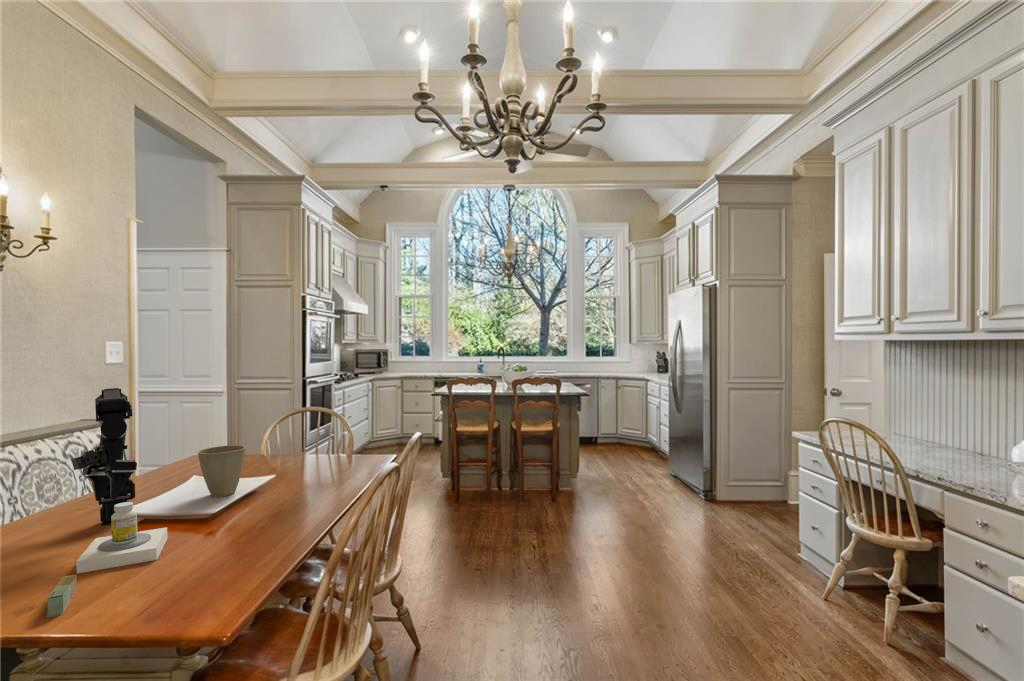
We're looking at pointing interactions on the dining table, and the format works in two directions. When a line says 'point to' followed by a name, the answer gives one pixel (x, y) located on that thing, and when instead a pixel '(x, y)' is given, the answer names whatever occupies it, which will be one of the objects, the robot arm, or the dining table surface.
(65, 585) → the medication box
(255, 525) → the dining table surface
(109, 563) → the plinth
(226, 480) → the plant pot
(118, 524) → the supplement bottle
